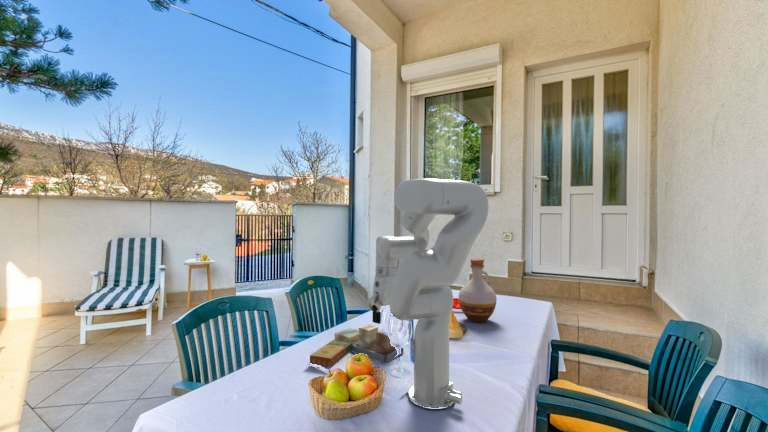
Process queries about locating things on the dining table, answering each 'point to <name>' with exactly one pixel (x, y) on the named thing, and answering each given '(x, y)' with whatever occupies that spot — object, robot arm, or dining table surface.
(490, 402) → the dining table surface
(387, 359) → the tray
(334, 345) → the reddish brown flat block
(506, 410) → the dining table surface
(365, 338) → the beech block
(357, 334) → the stand
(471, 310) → the jug
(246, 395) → the dining table surface
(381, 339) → the walnut block
